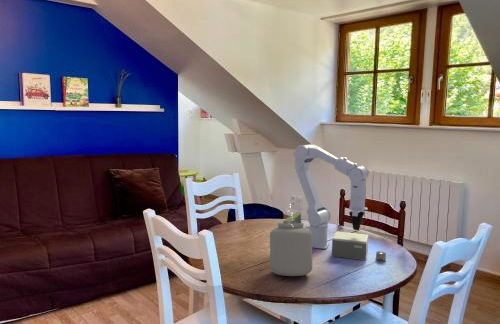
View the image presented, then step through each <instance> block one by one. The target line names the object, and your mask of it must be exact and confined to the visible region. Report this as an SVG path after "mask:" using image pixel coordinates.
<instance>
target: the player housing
mask: <svg viewBox="0 0 500 324" xmlns="http://www.w3.org/2000/svg"><path fill="white" fill-rule="evenodd" d="M333 239H334V240H343V241H352V242H361V243H366V258H367V257H368V251H369V249H368V248H369V234H367V233H366V234H364V233H355V232H348V231H347V232H346V231H336V232H335V233H334V235H333V237H332V240H333ZM334 257H336V256H334ZM336 258H337V257H336ZM342 258H344V257H342ZM350 259H352V258H350ZM358 260H360V259H358Z"/></svg>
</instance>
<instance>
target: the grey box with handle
mask: <svg viewBox="0 0 500 324" xmlns="http://www.w3.org/2000/svg"><path fill="white" fill-rule="evenodd" d="M331 241H332V242H331V257H335V256H336V258H337V257H338V258H343V257H344V258H345V259H351V258H352V259H353V260H359V259H360V260H361V261H366V260H367V257H366V243H361V242H352V241H343V240H334V239H333V238H332V240H331Z"/></svg>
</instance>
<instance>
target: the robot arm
mask: <svg viewBox="0 0 500 324" xmlns="http://www.w3.org/2000/svg"><path fill="white" fill-rule="evenodd" d="M293 157H294V170H295V172H296V174H297V178H298V180H299V184H300V185H301V189H302V191H303V195H304V197H305V199H306V202H307V205H308V207H307V209H306V214H307V222H308V223H309V224H308V223H307V224H306V225H305V227H304V228H307V229H308V230H310V231H311V233H312V249H313V248H314V249H315V248H316V249H322V250H326V249H327V248H328V246H329V245H330V242H328V230H329V229H328V226H329V225H328V224H329V222H330V220H331V218H332V215H331V212H330V210H329V209H328V208H327V206H326V204H324V202H322V201H321V198H320V195H319V194H318V190H317V187H316V185H315V182H314V179H313V177H312V174H311V171H310V169H309V167H310V165H311V163H312V162H313V161H314V159H319V160H321V161H324V162H326V163H329V165H332V166H333V167H334V170H336V171H337V172H339V173H341V174H343V175H345V176H346V177H348V178H349V180H350V195H349V199H350V200H349V210H350V211H349V213H348V214H349V217H350V219H351V222H352V223H351V224H352V229H353V231H359V230H360V228H361V224H362V219H363V217H364V215H365V211H368V207H366V204H365V203H366V188H367V187H366V186H367V185H366V183H367V179H368V177H369V169H368V168H367V167H365V166H364V165H359V164H358V163H357V162H355V163H354V162H352V161H350V160H348V159H349V158H347V157H346V156H345V157H339V158H338V157H337V156H335V155H333V154H331V153H330V152H328V151H327V150H324V149H323V148H321V146H318V145H316V144H314V143H310V144H304V145H303V144H300V145H298V146H296V148H295V149H294V151H293Z"/></svg>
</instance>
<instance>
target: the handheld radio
mask: <svg viewBox="0 0 500 324" xmlns="http://www.w3.org/2000/svg"><path fill="white" fill-rule="evenodd" d="M291 215H292V216H291ZM291 215H289V217H287V218H285V219H283V221H282V223H302V212H301V211H297V212H294V213H293V214H291Z"/></svg>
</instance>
